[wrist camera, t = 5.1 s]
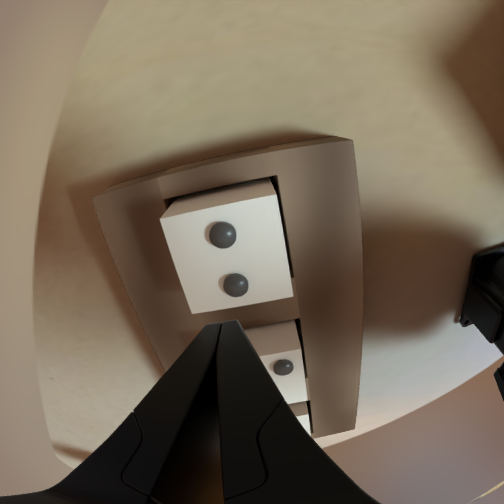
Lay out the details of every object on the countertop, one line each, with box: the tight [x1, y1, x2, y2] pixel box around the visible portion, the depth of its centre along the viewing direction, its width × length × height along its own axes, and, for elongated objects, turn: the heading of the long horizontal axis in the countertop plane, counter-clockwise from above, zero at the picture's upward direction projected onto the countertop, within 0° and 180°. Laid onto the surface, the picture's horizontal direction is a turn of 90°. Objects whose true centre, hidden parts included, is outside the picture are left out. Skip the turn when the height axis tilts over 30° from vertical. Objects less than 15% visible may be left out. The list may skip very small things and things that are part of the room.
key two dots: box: [160, 177, 293, 314], centre depth 13 cm, size 4×4×4 cm
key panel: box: [91, 136, 363, 438], centre depth 18 cm, size 12×22×2 cm, turn 11°
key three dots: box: [243, 319, 308, 404], centre depth 16 cm, size 4×4×4 cm
